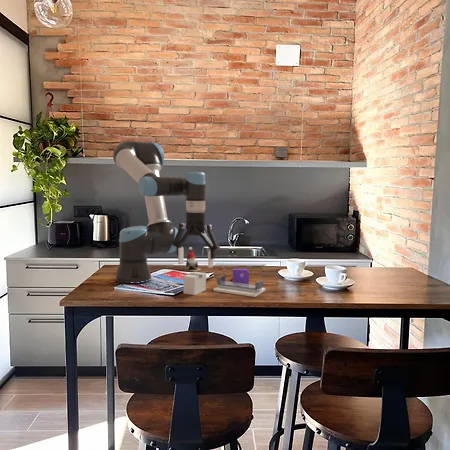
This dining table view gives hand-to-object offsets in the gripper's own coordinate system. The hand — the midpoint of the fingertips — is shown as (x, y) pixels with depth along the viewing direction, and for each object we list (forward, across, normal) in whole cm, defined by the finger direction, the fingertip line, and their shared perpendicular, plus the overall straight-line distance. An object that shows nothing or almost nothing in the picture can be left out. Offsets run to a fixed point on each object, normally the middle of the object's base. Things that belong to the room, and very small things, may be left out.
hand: (195, 265), depth 169 cm
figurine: (+10, -22, +35) cm, 43 cm away
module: (+11, 0, 0) cm, 11 cm away
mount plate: (+11, +14, +10) cm, 21 cm away
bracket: (+11, +8, +25) cm, 28 cm away
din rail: (+11, +14, +10) cm, 21 cm away
